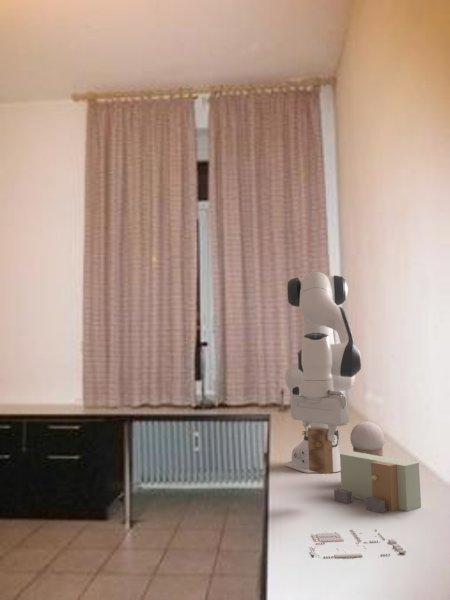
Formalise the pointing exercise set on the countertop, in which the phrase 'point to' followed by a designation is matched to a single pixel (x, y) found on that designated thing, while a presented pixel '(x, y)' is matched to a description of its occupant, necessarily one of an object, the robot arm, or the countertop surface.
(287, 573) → the countertop surface
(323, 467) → the wooden block with peg
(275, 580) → the countertop surface
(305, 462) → the robot arm
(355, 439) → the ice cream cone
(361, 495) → the cabinet
